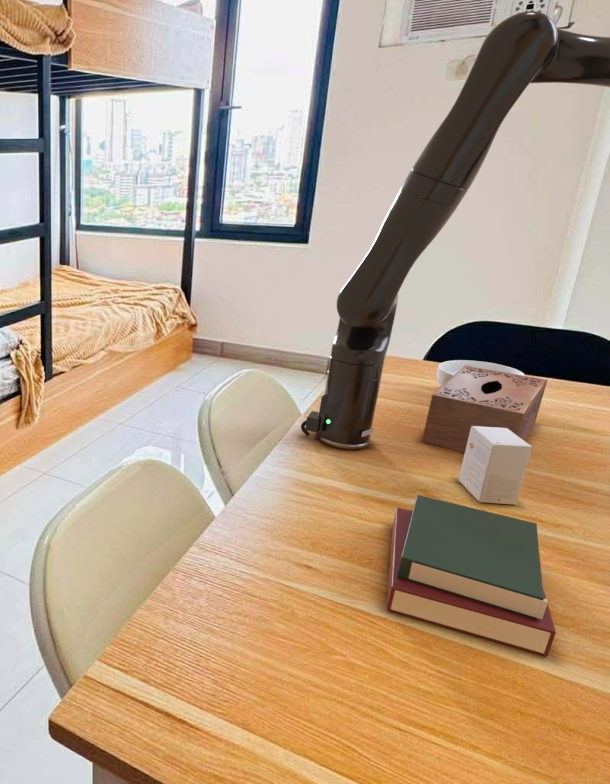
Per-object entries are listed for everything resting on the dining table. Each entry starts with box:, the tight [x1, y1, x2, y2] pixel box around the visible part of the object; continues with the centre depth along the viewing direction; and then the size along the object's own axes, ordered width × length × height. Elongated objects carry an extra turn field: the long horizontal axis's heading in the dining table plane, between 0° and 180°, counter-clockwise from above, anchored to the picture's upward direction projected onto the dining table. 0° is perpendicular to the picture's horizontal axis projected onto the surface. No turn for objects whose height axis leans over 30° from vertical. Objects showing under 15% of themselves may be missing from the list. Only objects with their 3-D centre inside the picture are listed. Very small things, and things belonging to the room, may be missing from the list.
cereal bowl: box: [436, 359, 526, 387], centre depth 146 cm, size 17×17×7 cm
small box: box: [458, 426, 533, 506], centre depth 104 cm, size 8×6×10 cm
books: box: [386, 494, 557, 657], centre depth 82 cm, size 16×22×6 cm
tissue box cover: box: [421, 365, 548, 454], centre depth 127 cm, size 26×14×10 cm, turn 135°
